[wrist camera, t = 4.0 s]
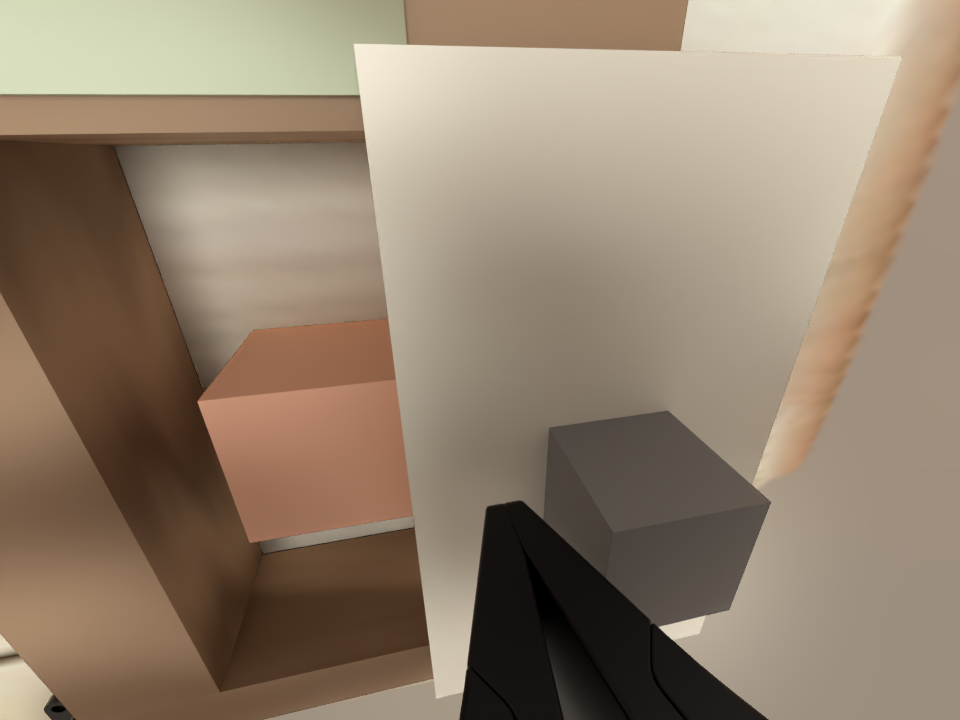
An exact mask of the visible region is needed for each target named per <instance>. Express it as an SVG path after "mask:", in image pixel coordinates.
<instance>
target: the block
mask: <svg viewBox="0 0 960 720" xmlns="http://www.w3.org/2000/svg"><path fill="white" fill-rule="evenodd" d="M197 402H198V405H199V408H200V410H201V413H202V416H203V418H204V421H205V424H206V427H207V429H208V432H209V435H210V437H211V440H212V443H213V445H214V448H215V451H216V453H217V456H218V459H219V462H220V464H221V467H222V470H223V472H224V475H225V478H226V480H227V483H228V486H229V489H230V491H231V494H232V497H233V499H234V502H235V505H236V507H237V510H238V513H239V515H240V518H241V521H242V524H243V526H244V529H245V532H246V534H247V537H248V540H249V542H250V543H253V542H259V541H265V540H271V539H277V538H283V537H289V536H295V535H301V534H307V533H313V532H319V531H325V530H331V529H337V528H343V527H349V526H355V525H361V524H367V523H373V522H379V521H385V520H391V519H397V518H403V517H409V516H413V511H412V503H411V495H410V487H409V479H408V471H407V463H406V455H405V447H404V439H403V431H402V424H401V416H400V408H399V400H398V392H397V384H396V376H395V368H394V360H393V352H392V345H391V337H390V329H389V321H388V319H378V320H366V321H354V322H342V323H331V324H319V325H307V326H295V327H283V328H271V329H260V330H253V331H252V332H251V333H250V335H249V336H248V337H247V339H246V340H245V341H244V342H243V344H242V345H241V346H240V347H239V349H238V350H237V351H236V353H235V354H234V355H233V356H232V358H231V359H230V360H229V362H228V363H227V364H226V365H225V367H224V368H223V369H222V370H221V372H220V373H219V374H218V376H217V377H216V378H215V379H214V381H213V382H212V383H211V384H210V386H209V387H208V388H207V390H206V391H205V392H204V393H203V395H202V396H201V397H200V398H199V400H198V401H197Z"/></svg>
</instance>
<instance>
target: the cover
mask: <svg viewBox="0 0 960 720" xmlns="http://www.w3.org/2000/svg"><path fill="white" fill-rule="evenodd" d="M354 52H355V60H356V68H357V76H358V84H359V92H360V99H361V107H362V115H363V123H364V131H365V139H366V147H367V155H368V163H369V171H370V179H371V186H372V194H373V202H374V210H375V218H376V226H377V234H378V242H379V250H380V258H381V265H382V273H383V281H384V289H385V297H386V305H387V313H388V321H389V329H390V337H391V345H392V352H393V360H394V368H395V376H396V384H397V392H398V400H399V408H400V416H401V424H402V431H403V439H404V447H405V455H406V463H407V471H408V479H409V487H410V495H411V503H412V511H413V518H414V526H415V534H416V542H417V550H418V558H419V566H420V574H421V582H422V590H423V598H424V605H425V613H426V621H427V629H428V637H429V645H430V653H431V661H432V669H433V677H434V684H435V692H436V699H438V698H442V697H446V696H449V695H454V694H458V693H462V692H464V684H465V675H466V670H467V661H468V652H469V644H470V636H471V628H472V619H473V611H474V603H475V594H476V586H477V578H478V570H479V561H480V553H481V545H482V536H483V528H484V520H485V511H486V507H487V506H490V505H495V504H501V503H503V504H505V503H507V502H512V501H518V500H521V501H523V502H525V503H526V504H527V505H528V506H529V507H530V508H531V509H532V510H533V511H534V512H535V513H536V514H537V515H539V516H540V517H541V518H542V519H543V520H544V521H545V522H546V523H547V524H548V525H549V526H550V527H551V528H553V529H554V530H555V531H556V532H557V533H558V534H559V535H560V536H561V537H562V538H563V539H564V540H565V541H566V542H568V543H569V544H570V545H571V546H572V547H573V548H574V549H575V550H576V551H577V552H578V553H579V554H580V555H581V556H583V557H584V558H585V559H586V560H587V561H588V562H589V563H590V564H591V565H592V566H593V567H594V568H595V569H597V570H598V571H599V572H600V573H601V574H602V575H603V576H604V577H605V578H606V579H607V580H608V581H609V582H610V583H612V584H613V585H614V586H615V587H616V588H617V589H618V590H619V591H620V592H621V593H622V594H623V595H624V596H625V597H627V598H628V599H629V600H630V601H631V602H632V603H633V604H634V605H635V606H636V607H637V608H638V609H639V610H641V611H642V612H643V613H644V614H645V615H646V616H647V617H648V618H649V619H650V620H651V624H652V623H654V624H656V625H657V626H658V627H659V628H660V629H661V630H662V631H663V632H664V633H665V634H666V635H668V636H669V637H670V638H671V639H672V640H675V639H679V638H683V637H687V636H691V635H695V634H699V633H700V631H701V628H702V625H703V622H704V620H705V617H706V615H710V614H714V613H718V612H722V611H726V610H729V609H730V607H731V604H732V601H733V599H734V596H735V594H736V591H737V589H738V586H739V583H740V581H741V578H742V575H743V573H744V570H745V568H746V565H747V563H748V560H749V558H750V555H751V552H752V550H753V547H754V545H755V542H756V539H757V537H758V534H759V532H760V529H761V526H762V524H763V521H764V519H765V516H766V514H767V511H768V509H769V506H770V504H771V502H770V501H769V500H768V499H767V498H766V497H765V496H764V495H763V494H761V493H760V492H759V491H758V490H757V489H756V488H755V487H754V486H752V483H753V480H754V478H755V475H756V472H757V469H758V466H759V463H760V460H761V458H762V455H763V452H764V449H765V446H766V443H767V441H768V438H769V435H770V432H771V429H772V426H773V424H774V421H775V418H776V415H777V412H778V409H779V406H780V404H781V401H782V398H783V395H784V392H785V389H786V387H787V384H788V381H789V378H790V375H791V372H792V370H793V367H794V364H795V361H796V358H797V355H798V353H799V350H800V347H801V344H802V341H803V338H804V335H805V333H806V330H807V327H808V324H809V321H810V318H811V316H812V313H813V310H814V307H815V304H816V301H817V299H818V296H819V293H820V290H821V287H822V284H823V281H824V279H825V276H826V273H827V270H828V267H829V264H830V262H831V259H832V256H833V253H834V250H835V247H836V245H837V242H838V239H839V236H840V233H841V230H842V228H843V225H844V222H845V219H846V216H847V213H848V210H849V208H850V205H851V202H852V199H853V196H854V193H855V191H856V188H857V185H858V182H859V179H860V176H861V174H862V171H863V168H864V165H865V162H866V159H867V156H868V154H869V151H870V148H871V145H872V142H873V139H874V137H875V134H876V131H877V128H878V125H879V122H880V120H881V117H882V114H883V111H884V108H885V105H886V103H887V100H888V97H889V94H890V91H891V88H892V85H893V83H894V80H895V77H896V74H897V71H898V68H899V66H900V63H901V60H902V57H903V56H864V55H821V54H778V53H735V52H692V51H649V50H606V49H564V48H521V47H478V46H435V45H392V44H354Z"/></svg>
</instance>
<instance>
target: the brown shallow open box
mask: <svg viewBox="0 0 960 720" xmlns="http://www.w3.org/2000/svg"><path fill="white" fill-rule="evenodd" d="M687 5H688V0H0V634H1V635H2V636H3V637H4V638H5V639H6V641H7V642H8V643H9V644H10V645H11V646H12V647H13V649H14V650H15V651H16V652H17V653H18V654H19V655H20V657H21V658H22V659H23V660H24V661H25V662H26V663H27V664H28V666H29V667H30V668H31V669H32V670H33V671H34V672H35V674H36V675H37V676H38V677H39V678H40V679H41V680H42V682H43V683H44V684H45V685H46V686H47V687H48V688H49V689H50V691H51V692H52V693H53V694H54V695H55V696H56V697H57V699H58V700H59V701H60V702H61V703H62V704H63V705H64V707H65V708H66V709H67V710H68V711H69V712H70V713H71V714H72V716H73V717H74V718H75V719H76V720H263V719H267V718H271V717H276V716H280V715H284V714H288V713H292V712H296V711H301V710H305V709H309V708H313V707H317V706H321V705H326V704H330V703H334V702H338V701H342V700H346V699H351V698H355V697H359V696H363V695H367V694H371V693H376V692H380V691H384V690H388V689H392V688H396V687H401V686H405V685H409V684H413V683H417V682H421V681H426V680H430V679H434V677H433V669H432V661H431V653H430V645H429V637H428V629H427V621H426V613H425V605H424V598H423V590H422V582H421V574H420V566H419V558H418V550H417V542H416V534H415V528H412V529H406V530H400V531H395V532H389V533H383V534H378V535H372V536H366V537H361V538H355V539H349V540H343V541H338V542H332V543H326V544H321V545H315V546H309V547H304V548H298V549H292V550H287V551H281V552H275V553H270V554H264V555H263V554H262V551H261V548H260V546H259V543H258V542H253V543H250V542H249V540H248V537H247V534H246V532H245V529H244V526H243V524H242V521H241V518H240V515H239V513H238V510H237V507H236V505H235V502H234V499H233V497H232V494H231V491H230V489H229V486H228V483H227V480H226V478H225V475H224V472H223V470H222V467H221V464H220V462H219V459H218V456H217V453H216V451H215V448H214V445H213V443H212V440H211V437H210V435H209V432H208V429H207V427H206V424H205V421H204V418H203V416H202V413H201V410H200V408H199V405H198V402H197V401H198V400H199V398H200V397H201V396H202V395H203V390H202V388H201V385H200V382H199V379H198V377H197V374H196V371H195V368H194V366H193V363H192V360H191V358H190V355H189V352H188V349H187V347H186V344H185V341H184V338H183V336H182V333H181V330H180V328H179V325H178V322H177V319H176V317H175V314H174V311H173V308H172V306H171V303H170V300H169V298H168V295H167V292H166V289H165V287H164V284H163V281H162V278H161V276H160V273H159V270H158V268H157V265H156V262H155V259H154V257H153V254H152V251H151V248H150V246H149V243H148V240H147V238H146V235H145V232H144V229H143V227H142V224H141V221H140V218H139V216H138V213H137V210H136V208H135V205H134V202H133V199H132V197H131V194H130V191H129V188H128V186H127V183H126V180H125V178H124V175H123V172H122V169H121V167H120V164H119V161H118V158H117V156H116V153H115V150H114V148H113V146H131V145H193V144H254V143H316V142H366V139H365V131H364V123H363V115H362V107H361V99H360V92H359V84H358V76H357V68H356V60H355V52H354V44H392V45H435V46H478V47H521V48H564V49H606V50H649V51H680V50H681V43H682V37H683V31H684V24H685V18H686V12H687Z"/></svg>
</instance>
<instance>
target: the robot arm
mask: <svg viewBox="0 0 960 720" xmlns="http://www.w3.org/2000/svg"><path fill="white" fill-rule="evenodd" d="M44 711H45V713H46V714H47V715H48V716H49V717H50V718H51V719H52V720H76V719H75V718H74V717H73V716H72V714H71V713H70V712H69V711H68V710H67V709H66V708H65V707H64V705H63V704H62V703H61V702H60V701H59V700H58V699H57V697H56V696H55V695H52V696H51V698H50V699H49V701H48V703H47V704H46V706H45V708H44ZM459 720H768V719H767V718H766V717H765V716H763V715H762V714H761V713H759V712H758V711H757V710H756V709H754V708H753V707H752V706H751V705H749V704H748V703H747V702H745V701H744V700H743V699H742V698H740V697H739V696H738V695H737V694H735V693H734V692H733V691H732V690H730V689H729V688H728V687H726V686H725V685H724V684H723V683H722V682H721V681H719V680H718V679H717V678H716V677H714V676H713V675H712V674H711V673H710V672H708V671H707V670H706V669H705V668H703V667H702V666H701V665H700V664H699V663H698V662H696V661H695V660H694V659H693V658H692V657H691V656H690V655H689V654H687V653H686V652H685V651H684V650H683V649H682V648H681V647H679V645H677V644H676V643H675V642H674V641H673V640H672V639H671V638H670V637H669V636H668V635H666V634H665V633H664V632H663V631H662V630H661V629H660V628H659V627H658V626H657V625H656V624H654V623H652V624H651V620H650V619H649V618H648V617H647V616H646V615H645V614H644V613H643V612H642V611H641V610H639V609H638V608H637V607H636V606H635V605H634V604H633V603H632V602H631V601H630V600H629V599H628V598H627V597H625V596H624V595H623V594H622V593H621V592H620V591H619V590H618V589H617V588H616V587H615V586H614V585H613V584H612V583H610V582H609V581H608V580H607V579H606V578H605V577H604V576H603V575H602V574H601V573H600V572H599V571H598V570H597V569H595V568H594V567H593V566H592V565H591V564H590V563H589V562H588V561H587V560H586V559H585V558H584V557H583V556H581V555H580V554H579V553H578V552H577V551H576V550H575V549H574V548H573V547H572V546H571V545H570V544H569V543H568V542H566V541H565V540H564V539H563V538H562V537H561V536H560V535H559V534H558V533H557V532H556V531H555V530H554V529H553V528H551V527H550V526H549V525H548V524H547V523H546V522H545V521H544V520H543V519H542V518H541V517H540V516H539V515H537V514H536V513H535V512H534V511H533V510H532V509H531V508H530V507H529V506H528V505H527V504H526V503H525V502H523V501H521V500H518V501H512V502H507V503H505V504H503V503H501V504H495V505H490V506H487V507H486V511H485V520H484V528H483V536H482V545H481V553H480V561H479V570H478V578H477V586H476V594H475V603H474V611H473V619H472V628H471V636H470V644H469V652H468V661H467V670H466V675H465V684H464V692H463V699H462V706H461V712H460V719H459Z"/></svg>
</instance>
